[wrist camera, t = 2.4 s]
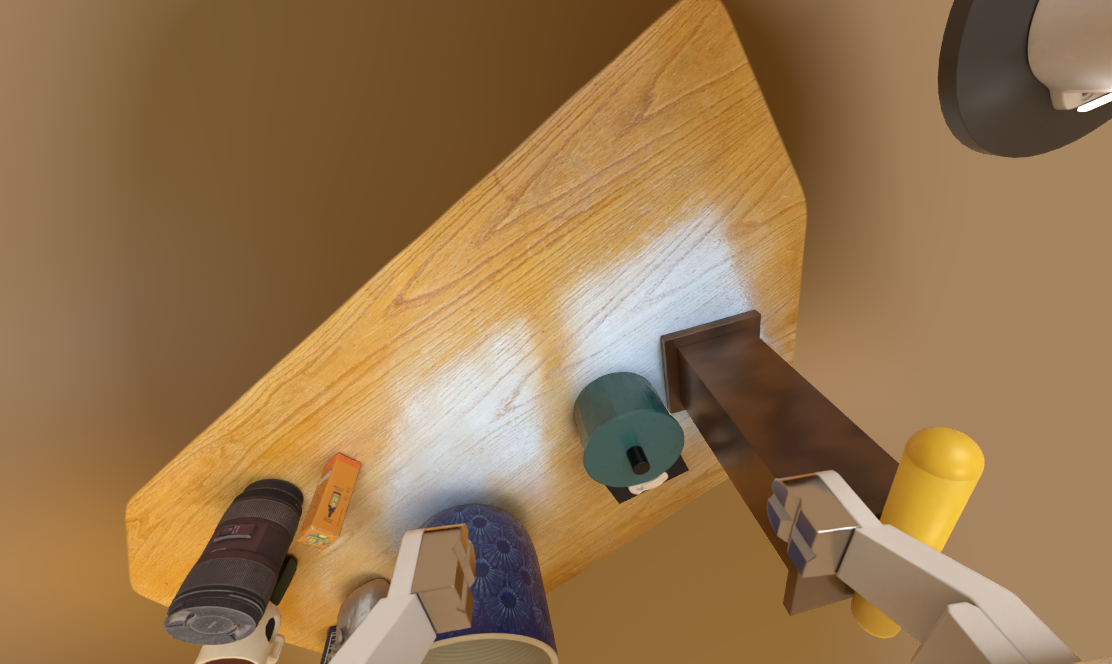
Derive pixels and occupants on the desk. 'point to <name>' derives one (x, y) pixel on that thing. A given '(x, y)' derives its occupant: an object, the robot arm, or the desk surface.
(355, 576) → the desk surface
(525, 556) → the planter
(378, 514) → the desk surface
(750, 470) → the stand
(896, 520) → the yellow rounded rod
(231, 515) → the camera lens
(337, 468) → the supplement box
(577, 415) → the pot
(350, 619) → the heart
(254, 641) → the character mug
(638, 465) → the pot lid
